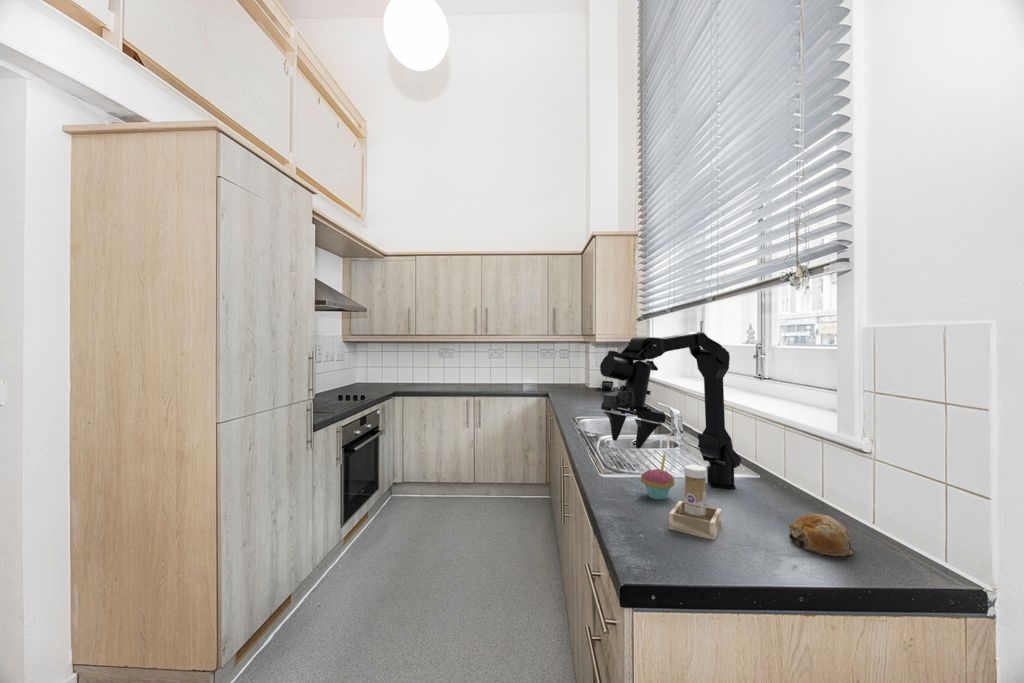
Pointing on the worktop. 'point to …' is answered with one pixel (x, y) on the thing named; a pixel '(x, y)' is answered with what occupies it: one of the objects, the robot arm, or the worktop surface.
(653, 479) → the cupcake
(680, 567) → the worktop surface
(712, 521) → the box
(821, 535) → the bread roll
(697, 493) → the sprinkles bottle
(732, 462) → the robot arm
